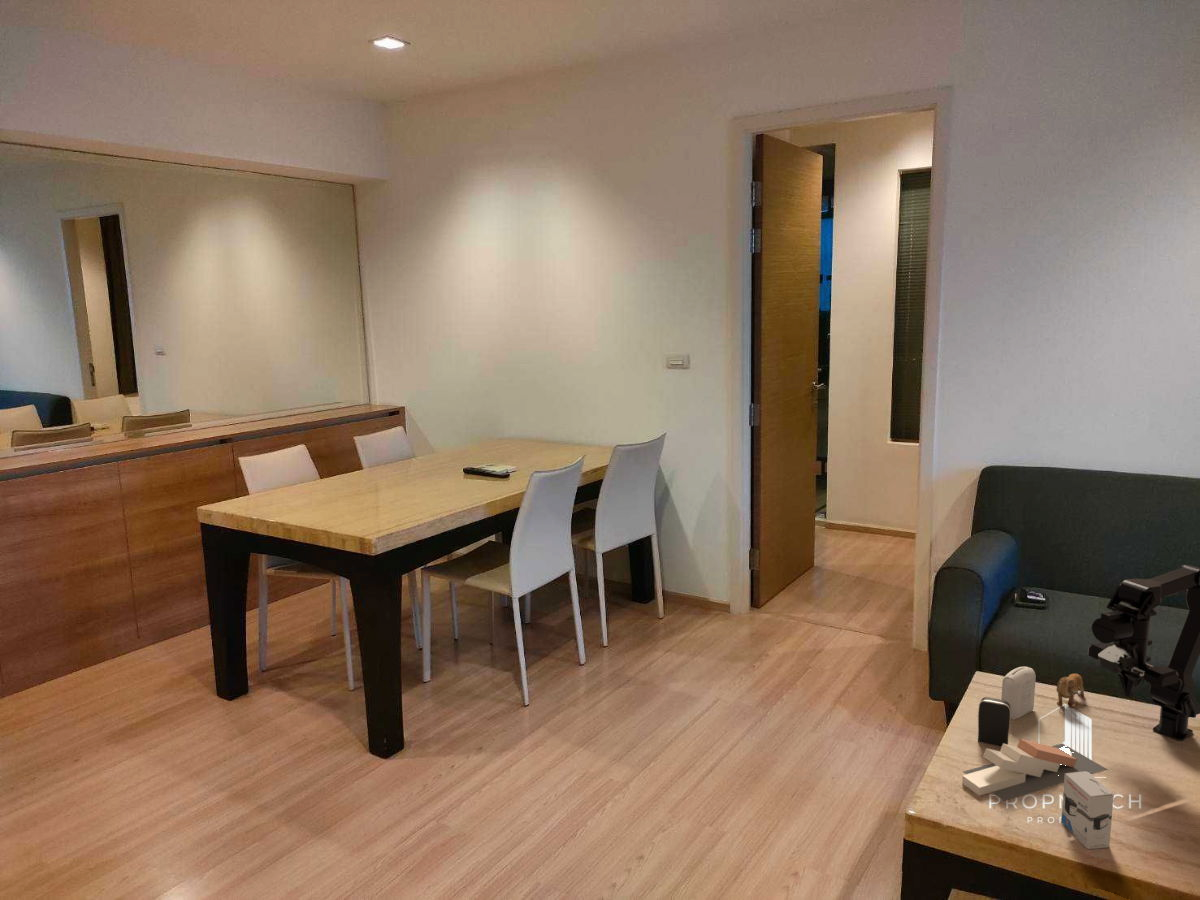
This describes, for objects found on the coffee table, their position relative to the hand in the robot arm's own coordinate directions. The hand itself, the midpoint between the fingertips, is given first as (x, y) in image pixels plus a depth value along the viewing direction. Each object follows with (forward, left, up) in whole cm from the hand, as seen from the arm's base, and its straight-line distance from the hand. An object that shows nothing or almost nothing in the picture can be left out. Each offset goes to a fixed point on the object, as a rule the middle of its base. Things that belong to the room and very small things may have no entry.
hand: (1128, 696), depth 196 cm
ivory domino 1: (+32, -9, -11) cm, 35 cm away
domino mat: (+26, -7, -13) cm, 30 cm away
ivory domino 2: (+27, -7, -12) cm, 30 cm away
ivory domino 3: (+22, -6, -11) cm, 26 cm away
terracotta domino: (+17, -5, -12) cm, 22 cm away
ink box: (+40, +10, -13) cm, 43 cm away
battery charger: (+22, -20, -13) cm, 33 cm away
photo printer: (+4, -24, -13) cm, 28 cm away
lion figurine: (-12, -18, -13) cm, 26 cm away
